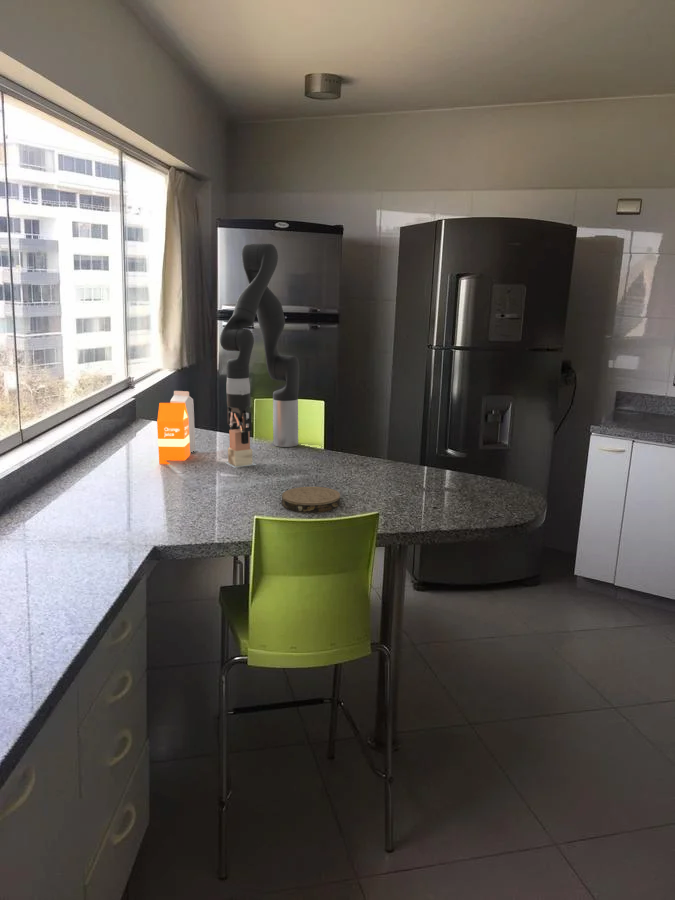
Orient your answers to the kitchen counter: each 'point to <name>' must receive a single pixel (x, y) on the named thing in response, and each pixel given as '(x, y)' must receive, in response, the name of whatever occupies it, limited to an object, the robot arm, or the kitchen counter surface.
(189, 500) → the kitchen counter surface
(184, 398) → the milk
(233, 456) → the birch block
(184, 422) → the orange juice
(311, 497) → the tambourine
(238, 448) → the terracotta block
